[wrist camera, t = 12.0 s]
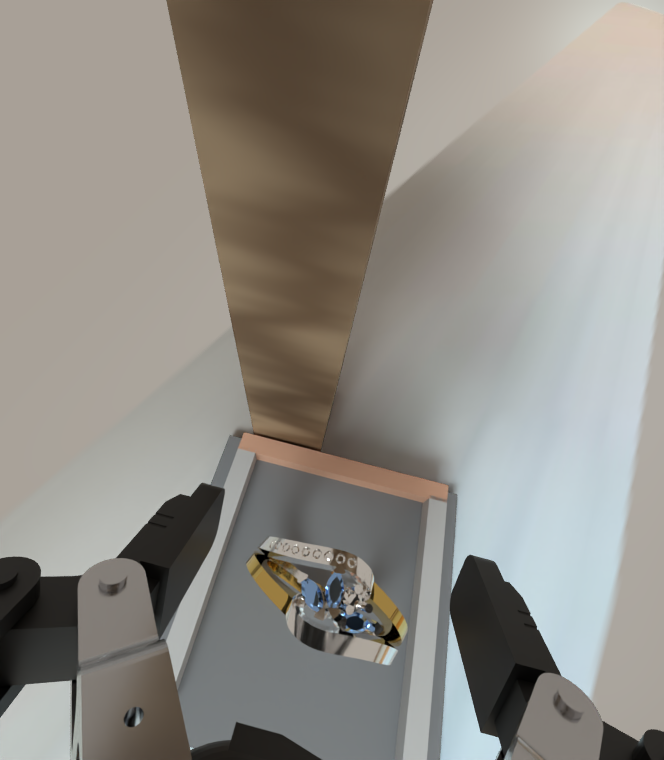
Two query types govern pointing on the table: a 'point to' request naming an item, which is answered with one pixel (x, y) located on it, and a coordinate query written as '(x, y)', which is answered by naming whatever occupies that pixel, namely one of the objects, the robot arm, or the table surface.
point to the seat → (268, 623)
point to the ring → (329, 600)
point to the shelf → (295, 177)
